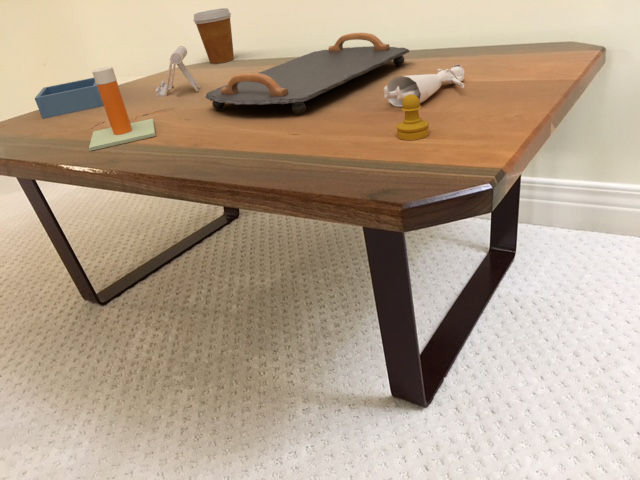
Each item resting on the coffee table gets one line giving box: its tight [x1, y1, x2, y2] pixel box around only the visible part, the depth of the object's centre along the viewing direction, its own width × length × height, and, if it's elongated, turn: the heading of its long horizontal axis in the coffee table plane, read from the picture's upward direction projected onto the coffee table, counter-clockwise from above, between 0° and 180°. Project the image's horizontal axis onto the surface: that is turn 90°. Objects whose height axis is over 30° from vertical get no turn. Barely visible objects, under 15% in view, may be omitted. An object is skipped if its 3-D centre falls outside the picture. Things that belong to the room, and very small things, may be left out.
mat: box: [88, 118, 157, 152], centre depth 88 cm, size 10×10×1 cm
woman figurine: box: [383, 63, 466, 107], centre depth 81 cm, size 12×4×18 cm
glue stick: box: [91, 66, 132, 135], centre depth 85 cm, size 3×3×10 cm
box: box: [34, 77, 104, 120], centre depth 110 cm, size 12×12×5 cm
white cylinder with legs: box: [155, 46, 201, 98], centre depth 109 cm, size 9×8×8 cm
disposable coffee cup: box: [192, 7, 235, 65], centre depth 137 cm, size 10×10×12 cm
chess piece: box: [395, 94, 430, 141], centre depth 66 cm, size 4×4×5 cm
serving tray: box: [205, 32, 410, 117], centre depth 97 cm, size 39×23×6 cm, turn 143°
